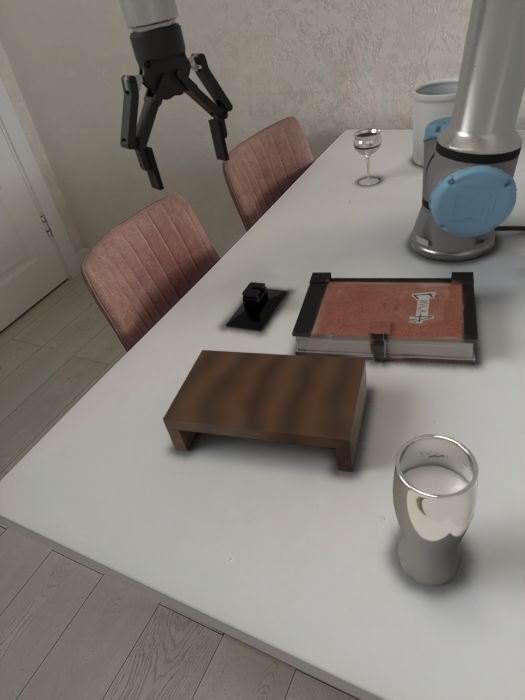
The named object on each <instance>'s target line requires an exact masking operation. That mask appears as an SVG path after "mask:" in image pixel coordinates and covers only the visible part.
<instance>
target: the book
mask: <svg viewBox="0 0 525 700" xmlns="http://www.w3.org/2000/svg"><path fill="white" fill-rule="evenodd" d="M310 276H311V277H310V279H309V281H308V283H309V284H308V288H307V290H306V293H305V296H304V298H303V301H302V303H301V307H300V310H299V312H298V314H297V318H296V320H295V324H294V326H293V329H292V332H291V336H292V338H293V337H295V340H296V349H295V350H294V352H295V354H294V355H298V356H315V357H332V358H349V359H365V360H374V362H375V363H384V361H394V362H395V361H397V362H415V363H416V362H417V363H436V364H437V363H438V364H457V365H458V364H459V365H476V350H475V349H476V348H475V344H478V343H479V335H478V333H479V331H478V322H477V320H478V319H477V307H476V294H475V276H474V271H451V275H450V277H332V272H329V271H328V272H327V271H323V272H320V271H319V272H318V271H317V272H312V273H311V275H310Z"/></svg>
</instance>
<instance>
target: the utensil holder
mask: <svg viewBox="0 0 525 700" xmlns="http://www.w3.org/2000/svg"><path fill="white" fill-rule="evenodd" d="M458 80H459V77H445V78H438V79H433V80H428V81H424V82H423V83H420V84H417V85H416V86H414V87H413V88H412V90H411V91H412V92H411V96H412V101H413V102H412V161H413V163H414V164H416V165H418V166H420V167H423V162H424V143H423V139H424V135H425V128H426V126H427V125H428V124H429V123H430V122H432V121H434V120H437V119H441V118H445V117H451V116H452V114H453V108H454V102H455V97H456V91H457V86H458Z"/></svg>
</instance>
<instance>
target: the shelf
mask: <svg viewBox="0 0 525 700" xmlns="http://www.w3.org/2000/svg"><path fill="white" fill-rule="evenodd" d="M366 362H367V361H366V359H355V358H335V357H315V356H298V355H296V354H279V353H278V354H277V353H263V352H262V353H261V352H247V351H246V352H245V351H227V350H211V349H202V350H201V351H200V353H199V355H198V356H197V358H196V359H195V362H194V363H193V365H192V367H191V369H190V371H189V372H188V374H187V375H186V377H185V379H184V381H183V383H182V385H181V386H180V387H179V389H178V392H177V393H176V394H175V397H174V398H173V400H172V402H171V404H170V405H169V407H168V409H167V411H166V413H165V414H164V416H163V418H162V422H163V424H164V427H165V428H166V431H167V434H168V436H169V437H170V440H171V442H172V444H173V447H174V449H175V450H179V451H188V450H189V448H190V446H191V443H192V441H193V439H194V437H195V435H196V433H202V434H210V435H211V434H212V435H217V436H218V435H219V436H226V437H227V436H229V437H235V438H237V437H238V438H244V439H245V438H246V439H252V440H253V439H254V440H262V441H270V442H279V443H288V444H294V445H295V444H296V445H304V446H305V445H306V446H313V447H323V448H330V449H335V458H336V467H337V471H340V472H346V473H347V472H348V473H353V471H354V465H355V461H356V454H357V449H358V443H359V437H360V432H361V427H362V422H363V415H364V410H365V405H366V399H367V393H368V385H367V382H368V381H367V363H366Z"/></svg>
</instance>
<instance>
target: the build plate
mask: <svg viewBox="0 0 525 700" xmlns="http://www.w3.org/2000/svg"><path fill="white" fill-rule="evenodd" d="M288 293H289V291H288V290H286V289H285V290H283V289H273V288H267V286H266V283H265V282H256V281H250V282H249V283H248V284H247V285H246V286H245V288H244V290H243V291H242V292H241V295H242V302H241V304H240V306H239V307H238V308H237V310H235V312H234V313H233V315H232V316H231V317H230V318H229V319H228V321H227V322H226V323H225V327H226V328H232V329H239V330H244V331H252V332H262V331H263V330H264V328H265V327H266V326H267V324H268V323H269V321H270V319H272V317H273V315H274V314H275V312H276V311H277V309H278V308H279V306H280V305H281V304H282V302H283V301H284V299H285V297H287V295H288Z"/></svg>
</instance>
